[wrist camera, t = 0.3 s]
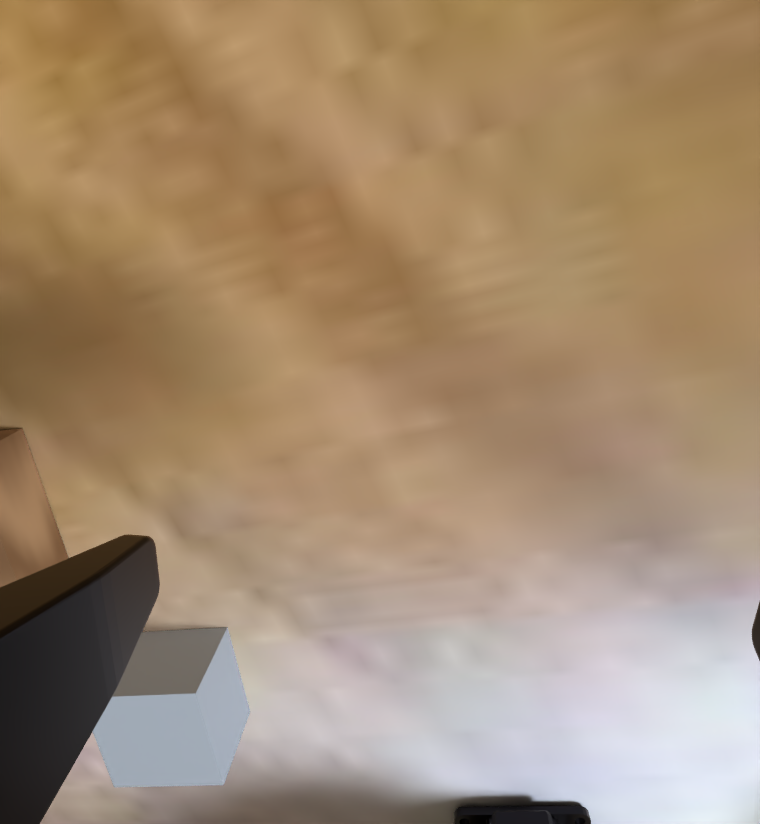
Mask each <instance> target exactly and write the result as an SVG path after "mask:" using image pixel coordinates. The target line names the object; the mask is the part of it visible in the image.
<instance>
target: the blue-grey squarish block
mask: <svg viewBox="0 0 760 824" xmlns="http://www.w3.org/2000/svg"><path fill="white" fill-rule="evenodd" d="M249 713H250V709H249V705H248V702H247V698H246V694H245V690H244V687H243V683H242V679H241V675H240V672H239V668H238V664H237V661H236V657H235V653H234V649H233V646H232V642H231V638H230V634H229V631H228V627H223V628H205V629H186V630H167V631H149V632H142V633H141V636H140V638H139V640H138V643H137V645H136V647H135V649H134V652H133V654H132V656H131V659H130V661H129V663H128V665H127V668H126V670H125V672H124V674H123V676H122V678H121V681H120V683H119V685H118V687H117V689H116V691H115V692H114V694H113V696H112V698H111V700H110V702H109V703H108V705H107V707H106V709H105V710H104V712H103V714H102V716H101V717H100V719H99V721H98V723H97V724H96V726H95V728H94V730H93V734H94V736H95V739H96V742H97V744H98V747H99V749H100V752H101V754H102V757H103V760H104V762H105V765H106V767H107V770H108V773H109V775H110V778H111V780H112V783H113V785H114V787H155V786H209V785H224V783H225V780H226V777H227V775H228V772H229V769H230V766H231V763H232V761H233V758H234V755H235V752H236V750H237V747H238V744H239V741H240V738H241V736H242V733H243V730H244V727H245V724H246V722H247V719H248V716H249Z"/></svg>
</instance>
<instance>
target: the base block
mask: <svg viewBox="0 0 760 824" xmlns="http://www.w3.org/2000/svg"><path fill="white" fill-rule="evenodd" d="M66 559H68V556H67V553H66V550H65V547H64V544H63V542H62V539H61V536H60V533H59V530H58V527H57V525H56V522H55V519H54V516H53V513H52V511H51V508H50V505H49V502H48V499H47V497H46V494H45V491H44V488H43V485H42V482H41V480H40V477H39V474H38V471H37V468H36V466H35V463H34V460H33V457H32V454H31V452H30V449H29V446H28V443H27V440H26V437H25V435H24V432H23V429H22V428H20V429H10V430H1V431H0V587H2V586H5V585H7V584H9V583H12V582H14V581H16V580H19V579H21V578H24V577H26V576H28V575H31V574H33V573H35V572H38V571H40V570H42V569H45V568H47V567H50V566H52V565H54V564H57V563H59V562H61V561H64V560H66Z"/></svg>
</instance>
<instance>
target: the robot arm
mask: <svg viewBox="0 0 760 824" xmlns="http://www.w3.org/2000/svg"><path fill="white" fill-rule="evenodd" d="M159 585H160V582H159V573H158V564H157V555H156V547H155V543H154V541H153V539H152V538H151V537H149V536H141V535H123V536H120V537H118V538H116V539H113V540H111V541H109V542H106V543H104V544H102V545H99V546H97V547H94V548H92V549H90V550H87V551H85V552H83V553H80V554H78V555H76V556H73V557H71V558H68V559H66V560H64V561H61V562H59V563H57V564H54V565H52V566H50V567H47V568H45V569H42V570H40V571H38V572H35V573H33V574H31V575H28V576H26V577H24V578H21V579H19V580H16V581H14V582H12V583H9V584H7V585H5V586H2V587H0V824H40V822H41V821H42V819H43V817H44V815H45V814H46V812H47V810H48V808H49V807H50V805H51V803H52V801H53V800H54V798H55V796H56V794H57V793H58V791H59V789H60V787H61V786H62V784H63V782H64V780H65V779H66V777H67V775H68V773H69V772H70V770H71V768H72V766H73V765H74V763H75V761H76V759H77V758H78V756H79V754H80V752H81V751H82V749H83V747H84V745H85V744H86V742H87V740H88V738H89V737H90V735H91V733H92V731H93V730H94V728H95V726H96V724H97V723H98V721H99V719H100V717H101V716H102V714H103V712H104V710H105V709H106V707H107V705H108V703H109V702H110V700H111V698H112V696H113V694H114V692H115V691H116V689H117V687H118V685H119V683H120V681H121V678H122V676H123V674H124V672H125V670H126V668H127V665H128V663H129V661H130V659H131V656H132V654H133V652H134V649H135V647H136V645H137V643H138V640H139V638H140V636H141V633H142V631H143V629H144V627H145V624H146V622H147V620H148V618H149V615H150V613H151V611H152V608H153V606H154V604H155V602H156V599H157V596H158V593H159ZM752 641H753V645H754V648H755V651H756V653H757V656H758V658H759V660H760V602H759V606H758V610H757V613H756V617H755V620H754V624H753V628H752ZM454 823H455V824H591V820H590V816H589V812H588V810H587V809H586V808H584V807H582V806H518V807H460V808H458V809H456V810H455V812H454Z"/></svg>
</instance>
